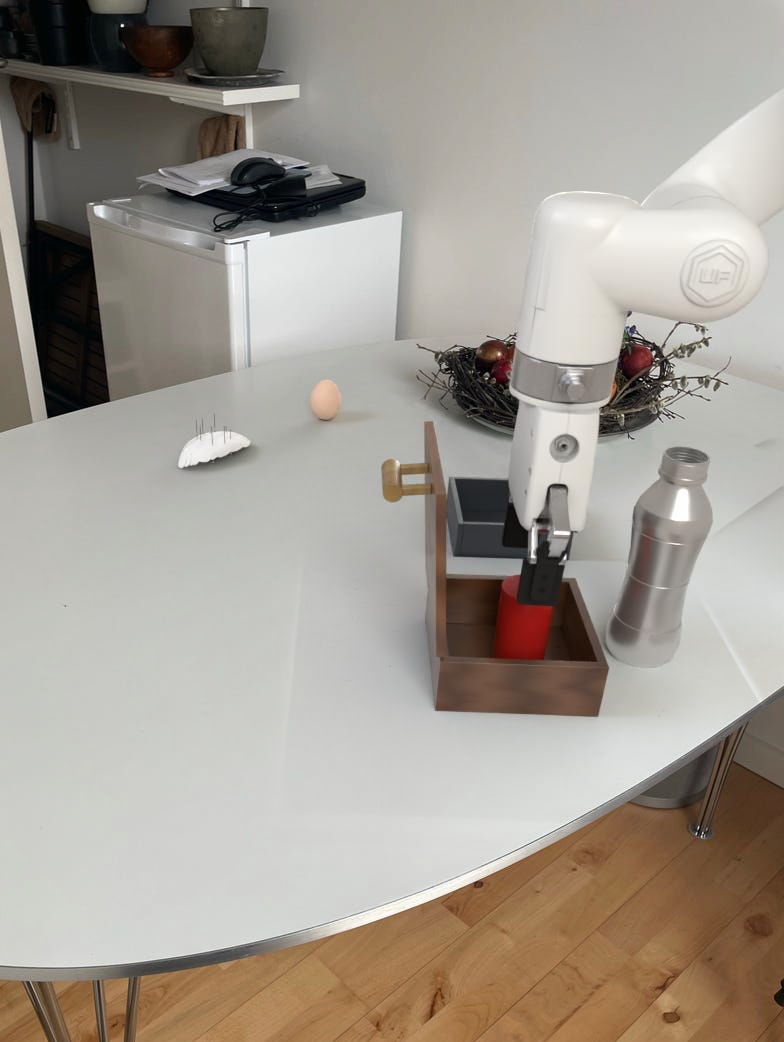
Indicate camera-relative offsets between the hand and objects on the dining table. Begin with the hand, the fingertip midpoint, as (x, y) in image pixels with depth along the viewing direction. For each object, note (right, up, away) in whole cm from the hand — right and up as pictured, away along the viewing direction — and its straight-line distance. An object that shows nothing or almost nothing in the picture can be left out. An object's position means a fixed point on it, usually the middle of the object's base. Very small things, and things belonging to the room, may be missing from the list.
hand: (527, 573), depth 82 cm
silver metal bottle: (+12, -7, +8) cm, 16 cm away
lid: (-8, +3, -2) cm, 8 cm away
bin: (+4, +6, +28) cm, 28 cm away
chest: (-1, -8, +6) cm, 10 cm away
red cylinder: (0, -8, +5) cm, 9 cm away
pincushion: (-31, +18, +46) cm, 58 cm away
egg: (-16, +26, +58) cm, 65 cm away
